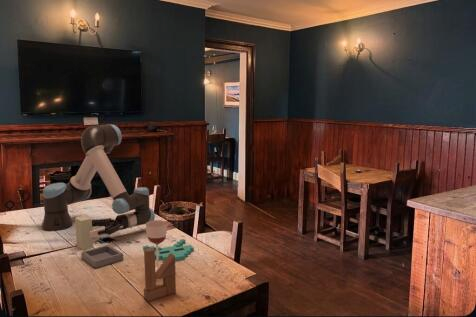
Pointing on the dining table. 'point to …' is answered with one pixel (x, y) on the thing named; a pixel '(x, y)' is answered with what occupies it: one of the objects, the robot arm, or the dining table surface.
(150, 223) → the wineglass
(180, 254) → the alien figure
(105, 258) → the grey tray
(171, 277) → the wooden braced frame
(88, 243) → the tan rectangular block
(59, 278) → the dining table surface
